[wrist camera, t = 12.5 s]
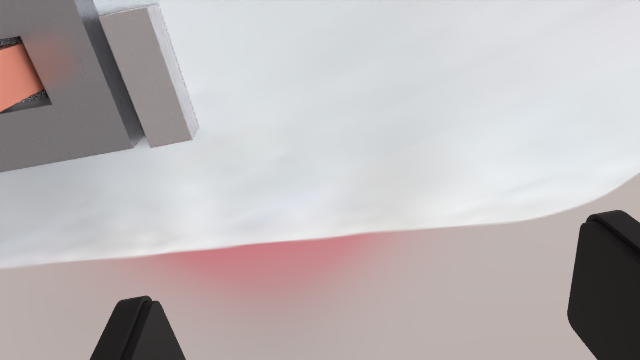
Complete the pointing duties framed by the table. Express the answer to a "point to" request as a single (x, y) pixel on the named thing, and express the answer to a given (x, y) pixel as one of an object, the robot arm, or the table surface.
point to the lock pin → (17, 75)
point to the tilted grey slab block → (151, 74)
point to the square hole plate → (65, 87)
